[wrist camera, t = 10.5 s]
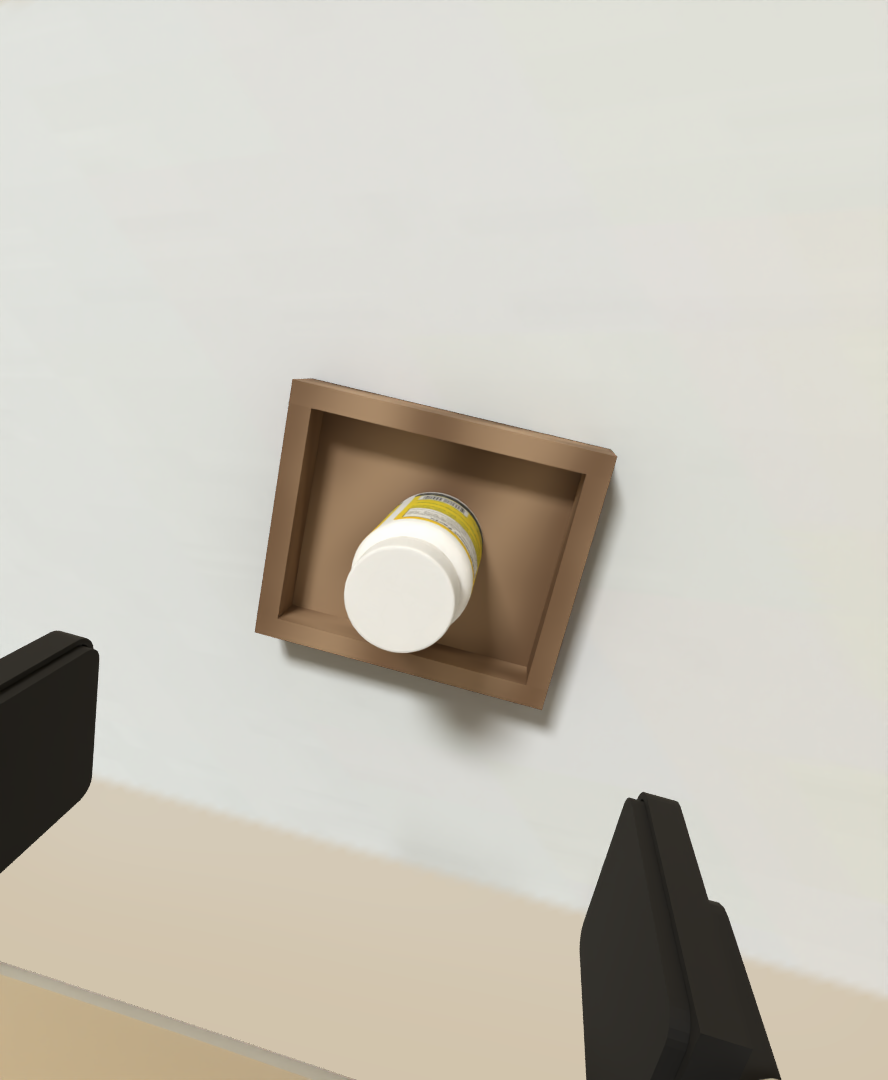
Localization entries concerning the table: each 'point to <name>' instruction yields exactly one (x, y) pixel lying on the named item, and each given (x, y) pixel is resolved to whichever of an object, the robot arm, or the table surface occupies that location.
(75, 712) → the robot arm
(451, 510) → the supplement bottle
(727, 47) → the table surface
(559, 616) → the tray
